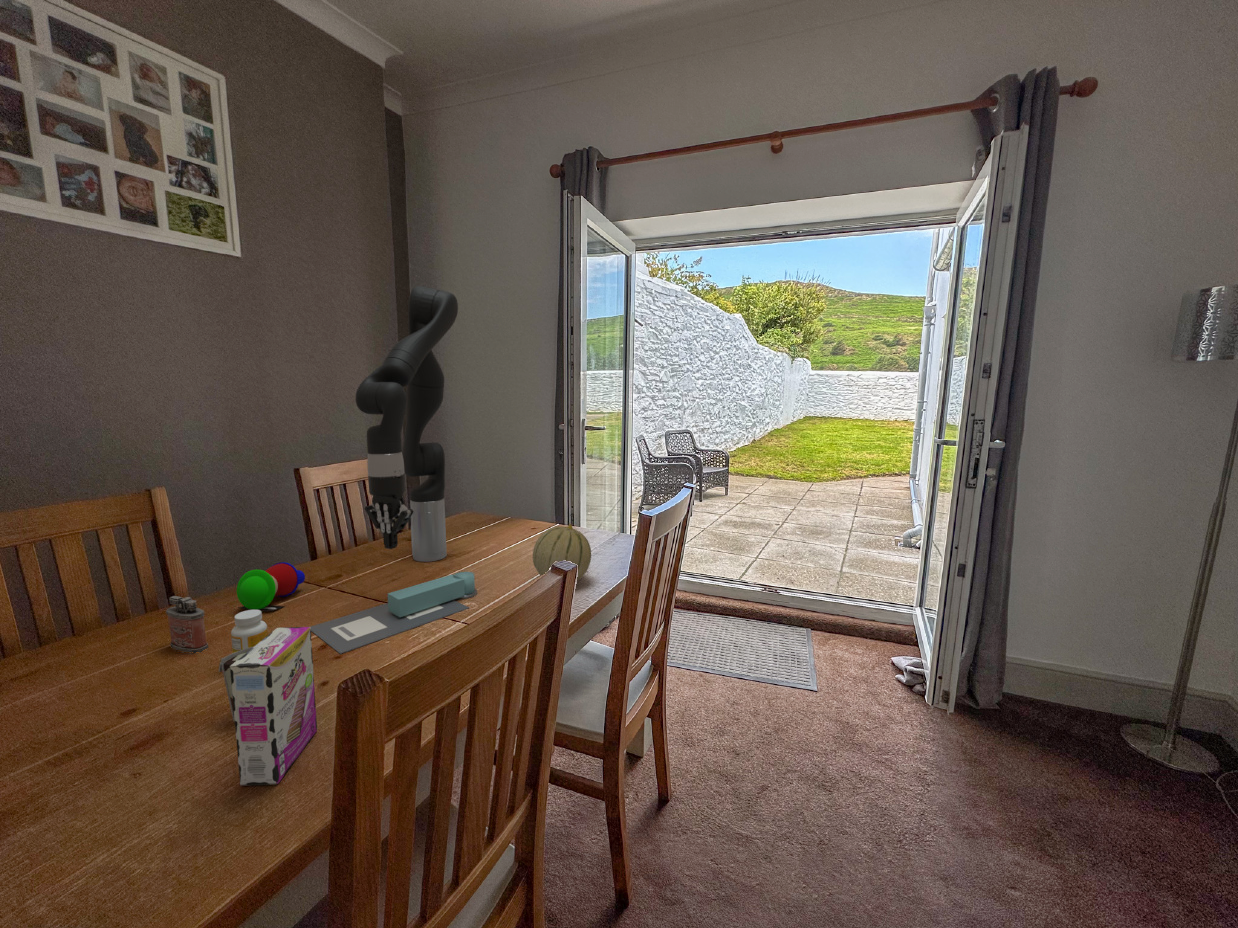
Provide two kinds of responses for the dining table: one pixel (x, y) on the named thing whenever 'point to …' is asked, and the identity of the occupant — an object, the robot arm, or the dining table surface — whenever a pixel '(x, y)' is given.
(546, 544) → the cantaloupe
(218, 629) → the dining table surface
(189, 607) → the lighter
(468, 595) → the pivot base
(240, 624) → the supplement bottle
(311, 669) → the candy bar box
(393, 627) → the label panel
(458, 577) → the block
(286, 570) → the toy figure
